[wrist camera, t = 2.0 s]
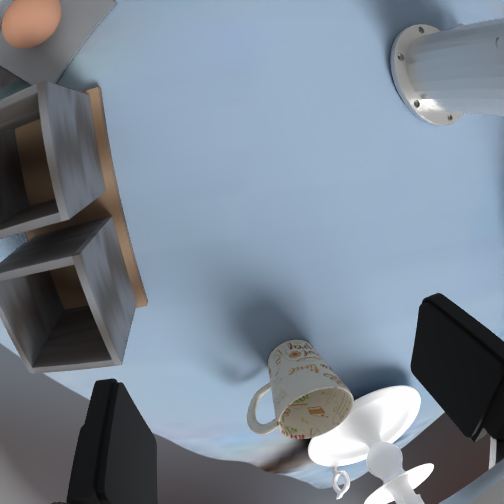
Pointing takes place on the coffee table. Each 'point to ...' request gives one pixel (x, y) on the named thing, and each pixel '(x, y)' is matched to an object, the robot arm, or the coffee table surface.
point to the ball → (30, 22)
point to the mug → (302, 393)
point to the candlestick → (375, 444)
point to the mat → (56, 42)
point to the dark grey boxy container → (64, 233)
